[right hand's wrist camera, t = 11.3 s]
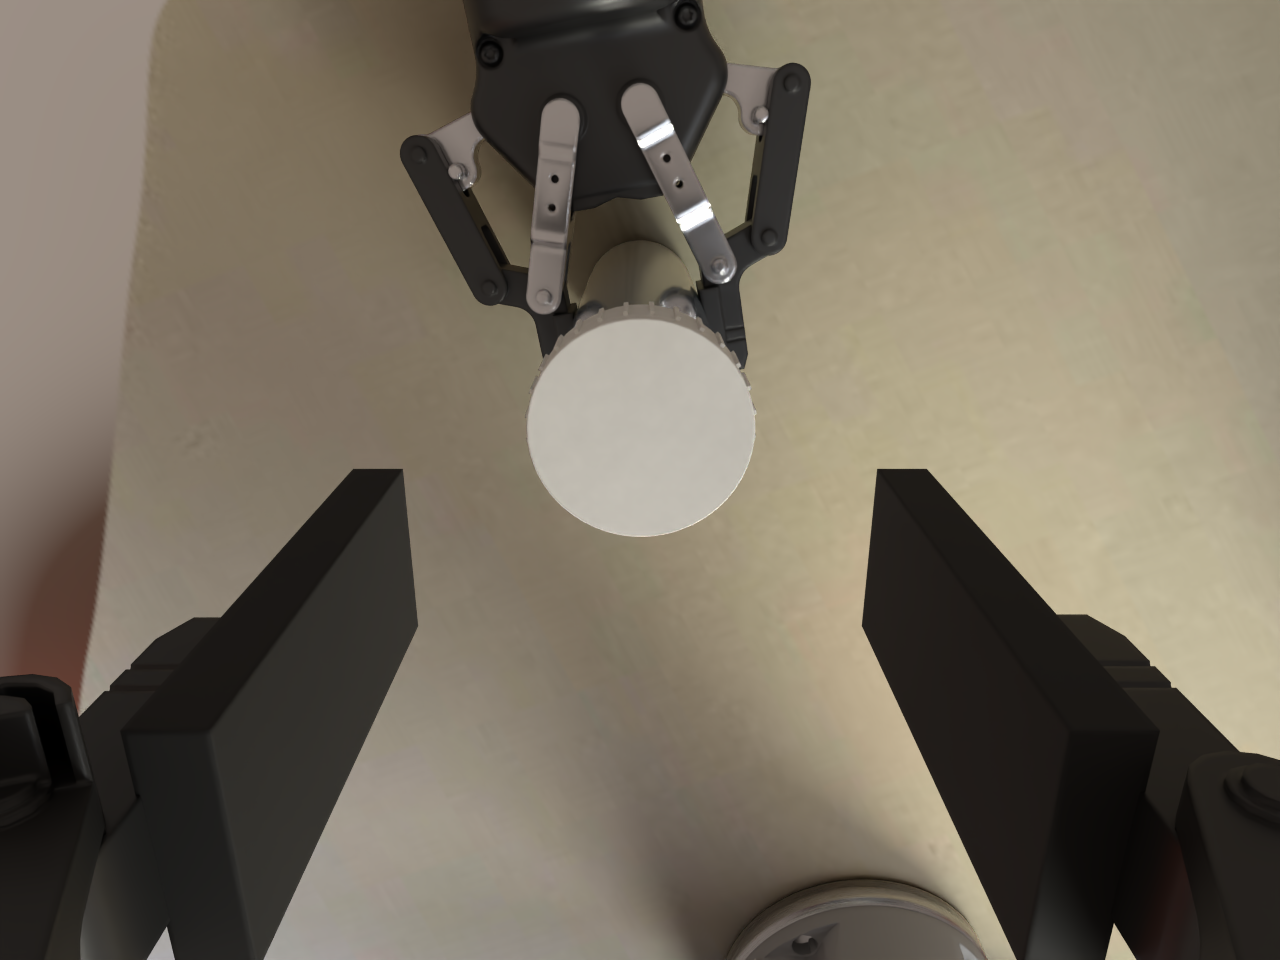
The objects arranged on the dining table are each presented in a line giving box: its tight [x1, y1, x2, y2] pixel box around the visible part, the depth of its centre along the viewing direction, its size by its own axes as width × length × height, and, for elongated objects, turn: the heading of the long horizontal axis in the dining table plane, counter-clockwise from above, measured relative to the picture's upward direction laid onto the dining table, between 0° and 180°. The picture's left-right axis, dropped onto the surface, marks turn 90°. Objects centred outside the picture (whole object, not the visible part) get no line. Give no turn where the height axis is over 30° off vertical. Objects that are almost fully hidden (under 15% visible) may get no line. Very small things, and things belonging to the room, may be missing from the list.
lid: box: [525, 302, 756, 537], centre depth 21 cm, size 5×5×2 cm
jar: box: [569, 240, 712, 331], centre depth 29 cm, size 4×4×20 cm
